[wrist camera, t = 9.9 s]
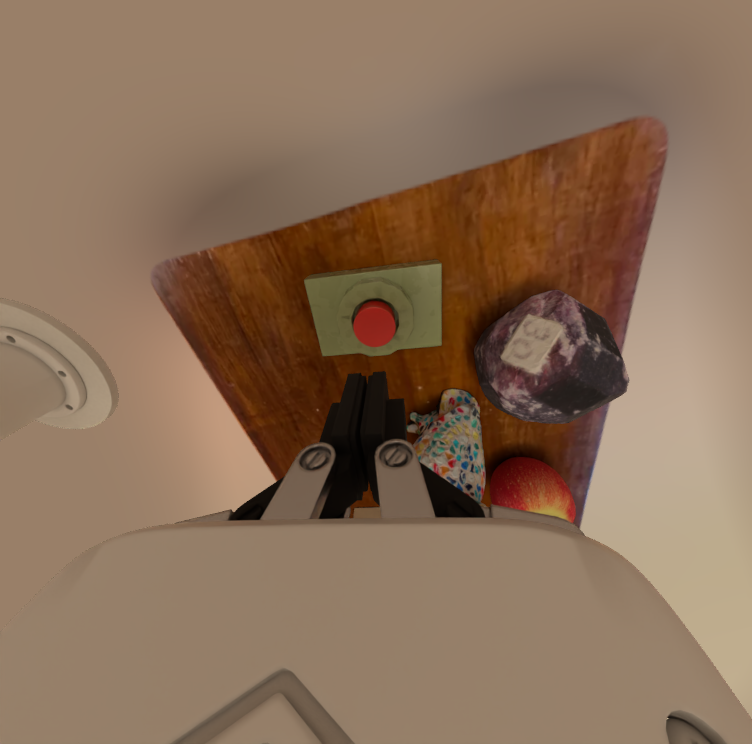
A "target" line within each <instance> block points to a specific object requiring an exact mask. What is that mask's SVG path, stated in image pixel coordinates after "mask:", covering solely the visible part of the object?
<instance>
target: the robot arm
mask: <svg viewBox="0 0 752 744" xmlns="http://www.w3.org/2000/svg"><path fill="white" fill-rule="evenodd" d="M85 401H86V388H85V385H84V382H83V380H82V378H81V376H80V375H79V373H78V372H77V371H76V369H75V368H74V367H73V365H72V364H71V363H70V362H69V361H68V360H67V359H66V358H65V357H64V356H62V355H61V354H60V353H59V352H58V351H57V350H55V349H54V348H52V347H51V346H49V345H48V344H47V343H45V342H43V341H41V340H39V339H38V338H36V337H34V336H32V335H29V334H27V333H25V332H22V331H19V330H16V329H13V328H9V327H3V326H0V440H2V439H4V438H6V437H7V436H9V435H11V434H12V433H14V432H16V431H18V430H19V429H21V428H23V427H24V426H26V425H28V424H29V423H31V422H33V421H35V420H36V419H38V418H40V417H41V416H46V417H64V416H68V415H71V414H73V413H74V412H76V411H77V410H79V409H80V408H82V406H83V405H84V404H85ZM368 482H369V484H370V489H371V491H372V494H373V499H374V501H375V502H376V503H377V504H378V505H379V506H380V510H381V518H350V519H349V516H350V511H351V508H350V506H351V505H352V504H353V503H354V502H355V501H357V500H362V496H363V491H367V490H368ZM667 718H669V719H667ZM666 719H667V720H666ZM0 744H752V719H751V717H750V716H749V714H748V713H747V712H746V710H745V709H744V707H743V706H742V704H741V703H740V702H739V700H738V699H737V697H736V696H735V694H734V693H733V692H732V690H731V689H730V687H729V686H728V684H727V683H726V681H725V680H724V679H723V678H722V676H721V675H720V673H719V672H718V670H717V669H716V667H715V666H714V665H713V663H712V662H711V660H710V659H709V657H708V656H707V655H706V653H705V652H704V651H703V649H702V648H701V646H700V645H699V644H698V642H697V641H696V640H695V638H694V637H693V636H692V634H691V633H690V632H689V630H688V629H687V628H686V627H685V625H684V624H683V622H682V621H681V620H680V618H679V617H678V616H677V615H676V613H675V612H674V611H673V610H672V608H671V607H670V606H669V604H668V603H667V602H666V601H665V599H664V598H663V597H662V596H661V595H660V594H659V592H658V591H657V590H656V589H655V588H654V586H653V585H652V584H651V583H650V582H649V581H648V580H647V579H646V578H645V576H644V575H643V574H642V573H641V572H639V570H638V569H637V568H636V567H635V566H634V565H632V564H631V563H630V562H629V561H628V560H626V559H625V558H624V557H623V556H622V555H620V554H619V553H617V552H616V551H614V550H612V549H611V548H609V547H608V546H606V545H604V544H601V543H600V542H597V541H595V540H593V539H591V538H589V537H586V536H585V535H584V533H583V532H581V530H580V529H579V528H578V527H577V526H576V525H574V524H572V523H571V522H569V521H568V520H566V519H563V518H560V517H557V516H551V515H546V514H541V513H535V512H530V511H525V510H519V509H514V508H509V507H503V506H498V505H493V504H491V507H485V506H480V505H479V504H478V503H477V502H476V501H475V500H474V499H473V498H471V497H470V496H469V495H467V494H466V493H464V492H463V491H461V490H460V489H458V488H457V487H455V486H454V485H453V484H451V483H450V482H448V481H447V480H445V479H444V478H442V477H441V476H440V475H438V474H437V473H435V472H434V471H432V470H431V469H429V468H428V467H427V466H425V465H424V464H422V463H421V462H419V459H418V456H417V452H416V450H415V448H414V446H413V445H412V444H411V443H410V442H408V441H407V433H406V418H405V406H404V399H389V396H388V388H387V379H386V372H385V371H383V372H373V375H371V376H369V377H368V384H367V380H366V376H362V375H361V373H356V374H348V377H347V381H346V384H345V388H344V391H343V395H342V398H341V402H340V403H333V404H332V405H331V407H330V411H329V414H328V417H327V420H326V423H325V426H324V429H323V432H322V435H321V438H320V441H319V443H314V444H311V445H309V446H307V447H305V448H304V449H303V450H301V451H300V453H299V454H298V455H297V457H296V458H295V460H294V462H293V464H292V465H291V467H290V469H289V470H288V472H287V474H286V476H285V477H283V478H282V479H280V480H279V481H277V482H276V483H274V484H273V485H271V486H270V487H268V488H267V489H265V490H264V491H262V492H261V493H259V494H258V495H256V496H255V497H253V498H252V499H250V500H249V501H247V502H246V503H244V504H243V505H242V506H240V507H239V508H238V509H237V510H236V511H235V512H232V510H227V511H223V512H219V513H215V514H210V515H206V516H202V517H197V518H193V519H189V520H185V521H181V522H177V523H174V524H165V525H159V526H152V527H147V528H143V529H139V530H135V531H132V532H128V533H125V534H122V535H120V536H117V537H114V538H111V539H109V540H106V541H104V542H102V543H100V544H98V545H96V546H94V547H92V548H90V549H88V550H86V551H85V552H84V553H82V554H81V555H79V556H78V557H76V558H75V559H74V560H72V561H71V562H70V563H69V564H68V565H66V566H65V567H64V568H63V569H62V570H61V571H60V572H59V573H58V574H57V575H56V576H55V577H53V578H52V579H51V580H50V581H49V582H48V583H47V584H46V585H45V586H44V587H43V588H42V589H41V590H40V591H39V592H38V593H37V594H36V595H35V596H34V597H33V598H32V599H31V600H30V601H29V602H28V603H27V604H26V606H24V608H22V609H21V610H20V611H19V613H18V614H17V615H16V616H15V617H14V618H13V619H12V620H11V621H10V622H9V623H8V624H7V625H6V626H5V627H4V628H3V629H2V630H1V631H0Z"/></svg>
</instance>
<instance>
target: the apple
mask: <svg viewBox="0 0 752 744" xmlns="http://www.w3.org/2000/svg"><path fill="white" fill-rule="evenodd" d="M490 496H491V501H492V504H493V505H498V506H503V507H509V508H514V509H519V510H525V511H530V512H535V513H541V514H546V515H551V516H557V517H560V518H563V519H566V520H568V521H569V522H571V523H573V521H574V519H575V515H576V511H575V504H574V500H573V497H572V495H571V492H570V490H569V488H568V486H567V485H566V483H565V481H564V480H563V479H562V478H561V476H560V475H559V474H558V473H557V472H556V471H555V470H554V469H553V468H551V467H550V466H549V465H547V464H545V463H544V462H542V461H540V460H537V459H534V458H529V457H514V458H510V459H508V460H506V461H504V462H503V463H501V464H500V465H499V466H498V467H497V468H496V469H495V471H494V473H493V475H492V478H491V482H490Z"/></svg>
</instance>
